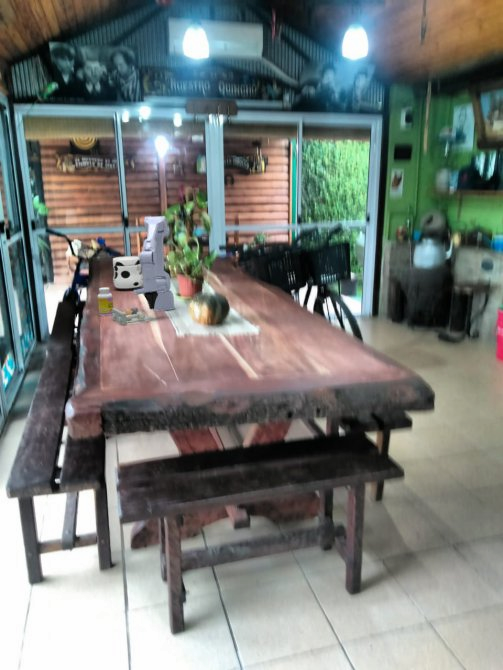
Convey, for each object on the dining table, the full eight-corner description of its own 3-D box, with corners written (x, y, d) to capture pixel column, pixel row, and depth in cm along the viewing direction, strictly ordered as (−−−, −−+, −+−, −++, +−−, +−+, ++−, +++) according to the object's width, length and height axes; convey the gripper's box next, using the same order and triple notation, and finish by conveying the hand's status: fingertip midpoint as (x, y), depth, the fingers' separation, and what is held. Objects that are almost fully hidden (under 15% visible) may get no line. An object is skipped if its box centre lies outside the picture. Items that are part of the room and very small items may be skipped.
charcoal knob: (136, 314, 239) (135, 307, 238) (138, 316, 236) (138, 308, 235) (112, 318, 234) (111, 310, 233) (115, 320, 231) (114, 312, 230)
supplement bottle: (110, 317, 241) (107, 289, 238) (97, 316, 243) (93, 289, 239) (116, 313, 247) (113, 287, 244) (103, 313, 249) (100, 286, 245)
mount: (144, 315, 243) (143, 303, 241) (156, 321, 232) (155, 308, 231) (113, 320, 235) (111, 308, 234) (123, 326, 224) (122, 314, 223)
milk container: (150, 287, 309) (147, 256, 304) (129, 292, 295) (126, 260, 290) (129, 284, 318) (126, 255, 313) (107, 290, 304) (104, 259, 299)
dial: (130, 319, 234) (129, 308, 232) (132, 320, 232) (131, 309, 230) (125, 320, 232) (124, 309, 231) (127, 321, 231) (126, 310, 229)
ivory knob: (142, 317, 233) (141, 310, 232) (145, 319, 230) (144, 311, 229) (118, 321, 228) (117, 313, 227) (121, 323, 225) (120, 315, 224)
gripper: (137, 281, 222) (139, 312, 226) (168, 277, 230) (170, 307, 233) (131, 279, 228) (133, 309, 232) (161, 275, 235) (164, 305, 239)
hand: (151, 308), depth 233 cm, fingers closed
